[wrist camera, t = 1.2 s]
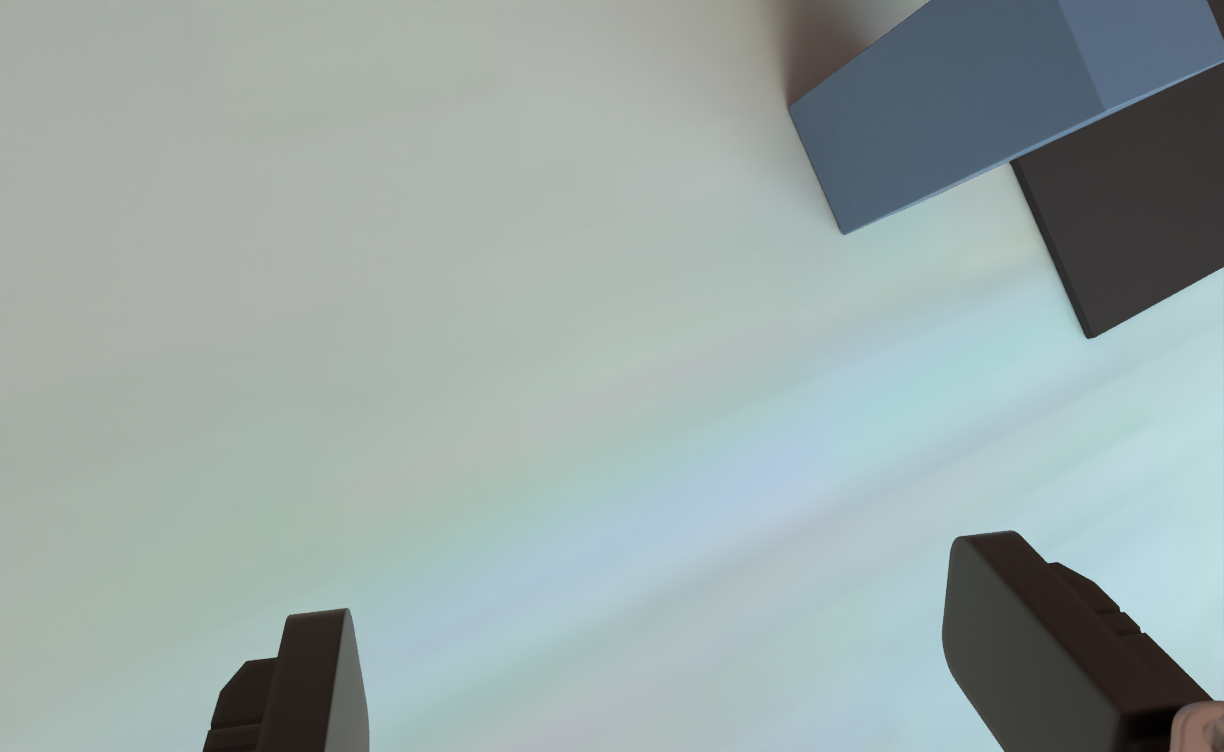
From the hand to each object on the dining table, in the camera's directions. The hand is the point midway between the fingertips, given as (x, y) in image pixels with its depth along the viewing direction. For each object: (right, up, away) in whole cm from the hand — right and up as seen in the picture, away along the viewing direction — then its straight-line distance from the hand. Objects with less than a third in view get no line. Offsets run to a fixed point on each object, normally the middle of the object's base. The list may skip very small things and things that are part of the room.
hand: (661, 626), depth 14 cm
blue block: (+9, +12, +24) cm, 28 cm away
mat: (+23, +14, +30) cm, 40 cm away
